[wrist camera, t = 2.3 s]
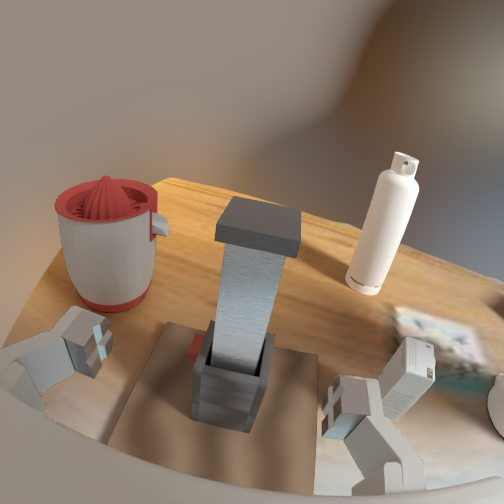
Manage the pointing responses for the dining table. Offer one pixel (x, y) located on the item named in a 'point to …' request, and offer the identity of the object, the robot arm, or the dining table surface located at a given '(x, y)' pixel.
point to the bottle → (384, 225)
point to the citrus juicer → (110, 240)
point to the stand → (224, 414)
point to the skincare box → (406, 377)
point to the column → (250, 277)
